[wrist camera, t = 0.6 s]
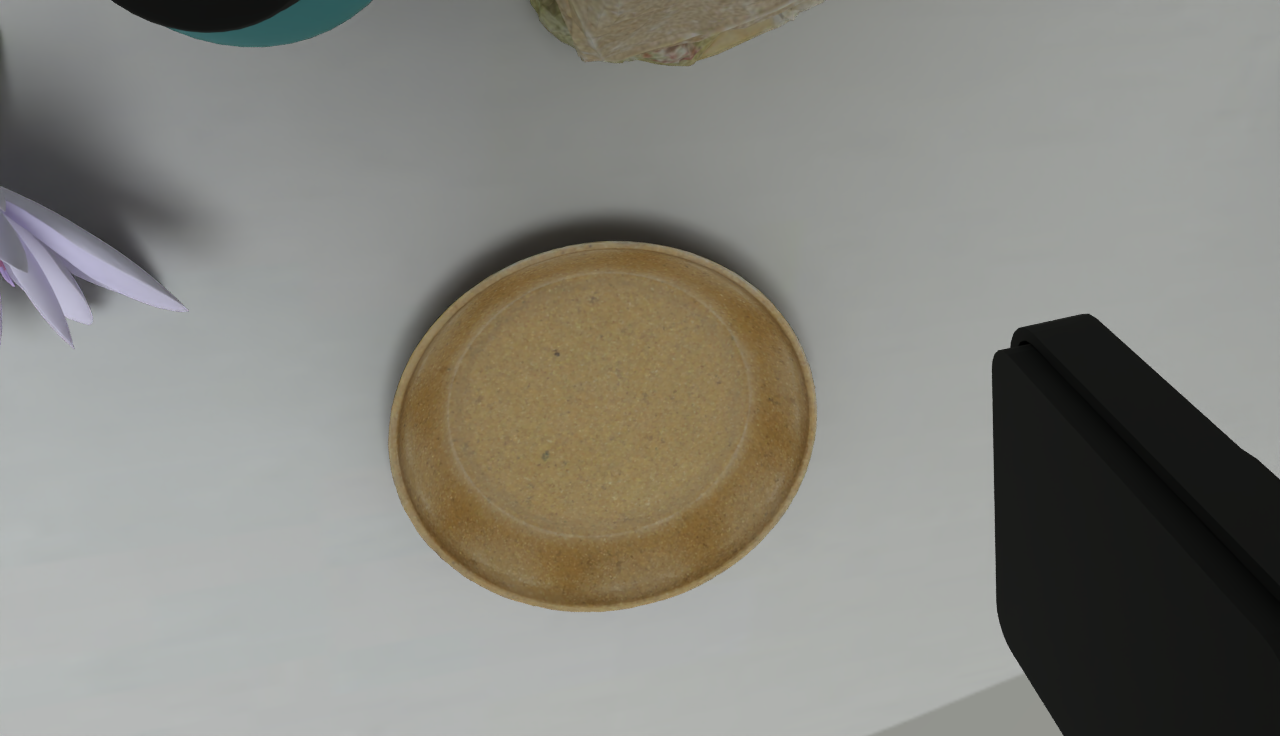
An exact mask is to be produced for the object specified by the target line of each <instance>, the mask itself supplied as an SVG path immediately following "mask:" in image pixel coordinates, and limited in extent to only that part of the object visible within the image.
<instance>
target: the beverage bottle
mask: <svg viewBox="0 0 1280 736" xmlns="http://www.w3.org/2000/svg"><path fill="white" fill-rule="evenodd" d="M112 1H113V2H114V3H116V4H117V5H119V6H121V7H123V8H124V9H126V10H128V11H129V12H131V13H133V14H135V15H137V16H139V17H141V18H143V19H146V20H148V21H150V22H153V23H156V24H159V25H162V26H165V27H167V28H169V29H171V30H174V31H176V32H179V33H182V34H185V35H187V36H190V37H193V38H195V39H199V40H203V41H208V42H212V43H216V44H221V45H230V46H238V47H270V46H277V45H285V44H290V43H294V42H298V41H302V40H305V39H309V38H312V37H315V36H317V35H319V34H322V33H324V32H327V31H329V30H331V29H333V28H335V27H337V26H338V25H340V24H342V23H343V22H345V21H347V20H349V19H350V18H352V17H353V16H354V15H355V14H357V13H358V12H359V11H361V10H362V9H363V8H364V7H366V6H367V5H368V4H369V3H370V2H371V1H372V0H112Z"/></svg>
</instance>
